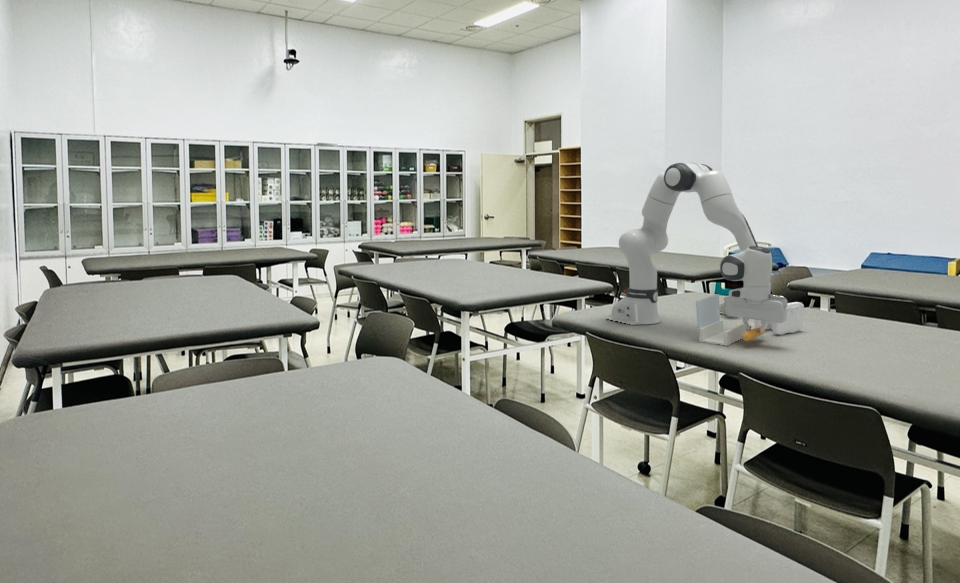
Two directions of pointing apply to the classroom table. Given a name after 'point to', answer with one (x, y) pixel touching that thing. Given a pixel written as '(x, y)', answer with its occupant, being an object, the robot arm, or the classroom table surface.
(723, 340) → the duct
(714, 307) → the cover
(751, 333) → the rod
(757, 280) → the robot arm
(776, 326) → the cable organizer
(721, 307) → the skeletal model
